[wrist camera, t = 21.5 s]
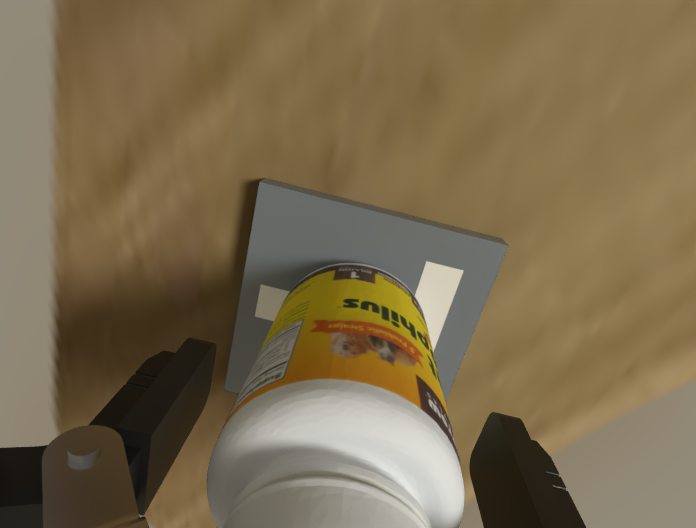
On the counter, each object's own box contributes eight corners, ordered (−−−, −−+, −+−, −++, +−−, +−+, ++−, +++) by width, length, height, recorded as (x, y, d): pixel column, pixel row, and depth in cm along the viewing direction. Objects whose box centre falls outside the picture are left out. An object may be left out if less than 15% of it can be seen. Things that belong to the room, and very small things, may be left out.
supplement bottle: (455, 326, 16) (573, 649, 7) (351, 407, 18) (325, 760, 8) (352, 224, 15) (315, 435, 5) (250, 320, 17) (83, 613, 7)
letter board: (264, 178, 15) (259, 182, 15) (502, 239, 16) (508, 245, 15) (229, 378, 19) (223, 390, 18) (428, 426, 19) (430, 439, 18)
